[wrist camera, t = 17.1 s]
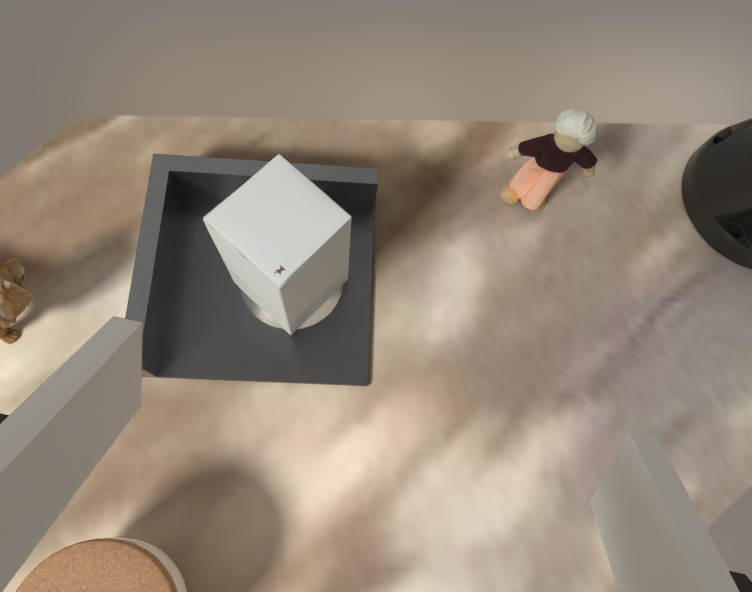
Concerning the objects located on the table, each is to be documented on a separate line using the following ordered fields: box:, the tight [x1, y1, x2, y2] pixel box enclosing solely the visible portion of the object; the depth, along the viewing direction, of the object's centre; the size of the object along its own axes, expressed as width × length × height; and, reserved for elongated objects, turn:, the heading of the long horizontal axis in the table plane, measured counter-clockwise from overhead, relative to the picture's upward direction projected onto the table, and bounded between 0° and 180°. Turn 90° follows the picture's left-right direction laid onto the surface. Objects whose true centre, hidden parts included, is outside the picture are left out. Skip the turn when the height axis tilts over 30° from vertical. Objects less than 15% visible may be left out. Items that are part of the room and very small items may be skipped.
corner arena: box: [125, 154, 378, 386], centre depth 48 cm, size 19×18×5 cm
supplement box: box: [203, 154, 352, 335], centre depth 44 cm, size 7×7×13 cm
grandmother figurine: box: [500, 108, 597, 210], centre depth 49 cm, size 8×4×13 cm, turn 89°
